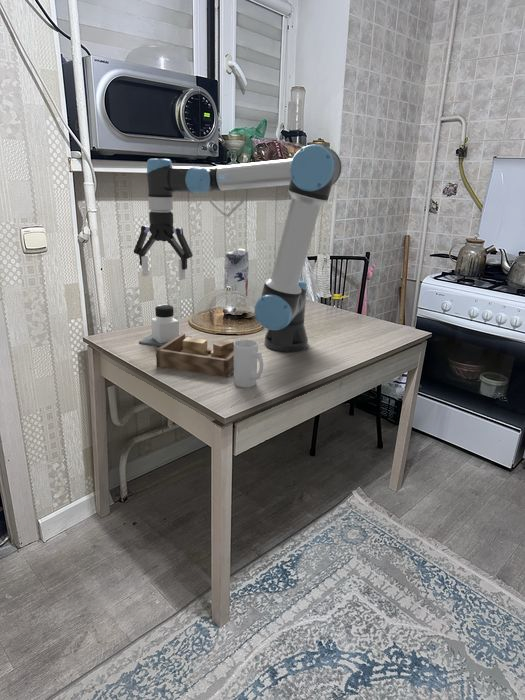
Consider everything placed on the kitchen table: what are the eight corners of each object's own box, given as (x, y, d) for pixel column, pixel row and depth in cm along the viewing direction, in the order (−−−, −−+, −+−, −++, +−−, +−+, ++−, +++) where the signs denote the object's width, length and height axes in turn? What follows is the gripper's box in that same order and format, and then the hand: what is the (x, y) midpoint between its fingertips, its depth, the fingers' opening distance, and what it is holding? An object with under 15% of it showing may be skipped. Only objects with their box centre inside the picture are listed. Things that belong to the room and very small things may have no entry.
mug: (228, 382, 135) (228, 342, 131) (245, 376, 139) (246, 337, 135) (253, 394, 128) (254, 352, 124) (270, 387, 133) (272, 347, 129)
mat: (191, 338, 170) (191, 336, 169) (175, 348, 159) (175, 347, 159) (156, 333, 173) (156, 331, 173) (138, 343, 162) (138, 341, 162)
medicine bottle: (179, 340, 165) (178, 307, 161) (160, 343, 161) (158, 309, 157) (170, 334, 170) (169, 302, 166) (151, 337, 167) (150, 304, 162)
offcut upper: (226, 348, 154) (226, 339, 153) (233, 350, 152) (233, 341, 151) (213, 352, 149) (213, 343, 148) (220, 355, 147) (220, 346, 146)
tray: (246, 357, 153) (247, 342, 152) (227, 377, 138) (227, 360, 136) (182, 348, 160) (181, 333, 158) (156, 365, 144) (156, 349, 143)
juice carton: (222, 315, 198) (223, 250, 188) (228, 309, 207) (228, 246, 198) (243, 317, 197) (245, 251, 187) (248, 310, 206) (249, 247, 197)
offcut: (207, 354, 156) (207, 339, 154) (202, 358, 152) (202, 343, 151) (187, 351, 157) (187, 337, 156) (183, 355, 154) (182, 340, 152)
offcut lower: (237, 359, 153) (237, 350, 152) (235, 363, 150) (236, 354, 149) (212, 357, 154) (212, 349, 153) (210, 361, 150) (210, 352, 149)
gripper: (202, 212, 151) (202, 278, 158) (132, 208, 158) (136, 272, 165) (191, 213, 144) (193, 283, 151) (120, 209, 151) (124, 275, 158)
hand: (163, 277), depth 158 cm, fingers open, 13 cm apart
